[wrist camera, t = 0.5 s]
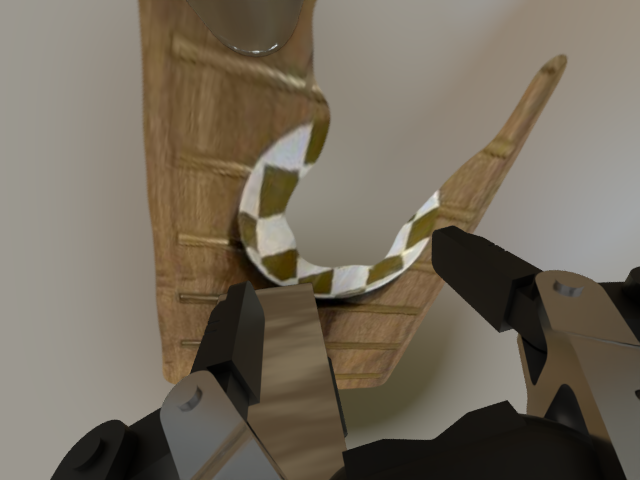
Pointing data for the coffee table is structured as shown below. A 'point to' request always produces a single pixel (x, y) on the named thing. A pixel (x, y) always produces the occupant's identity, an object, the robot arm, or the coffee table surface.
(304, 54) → the coffee table surface
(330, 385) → the oak pedestal
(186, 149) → the coffee table surface
